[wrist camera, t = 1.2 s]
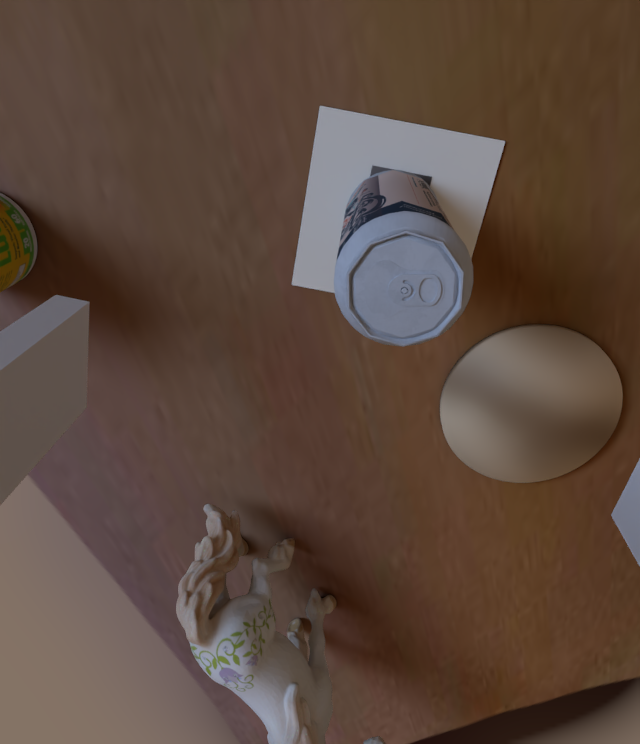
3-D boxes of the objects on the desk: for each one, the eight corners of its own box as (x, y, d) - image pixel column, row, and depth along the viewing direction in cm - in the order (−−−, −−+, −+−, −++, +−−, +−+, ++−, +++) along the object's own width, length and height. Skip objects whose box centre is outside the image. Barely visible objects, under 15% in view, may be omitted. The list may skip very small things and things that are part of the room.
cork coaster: (466, 308, 33) (467, 312, 32) (647, 342, 33) (652, 347, 32) (421, 460, 37) (422, 465, 37) (581, 490, 37) (584, 496, 37)
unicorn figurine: (369, 680, 46) (369, 893, 34) (159, 539, 41) (73, 726, 29) (438, 632, 43) (464, 844, 31) (221, 476, 39) (155, 653, 27)
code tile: (320, 105, 29) (319, 105, 29) (505, 141, 29) (505, 141, 29) (291, 284, 33) (291, 285, 33) (454, 315, 33) (455, 315, 33)
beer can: (344, 169, 30) (330, 218, 19) (442, 166, 30) (483, 216, 19) (345, 264, 32) (333, 357, 21) (437, 263, 32) (472, 357, 21)
